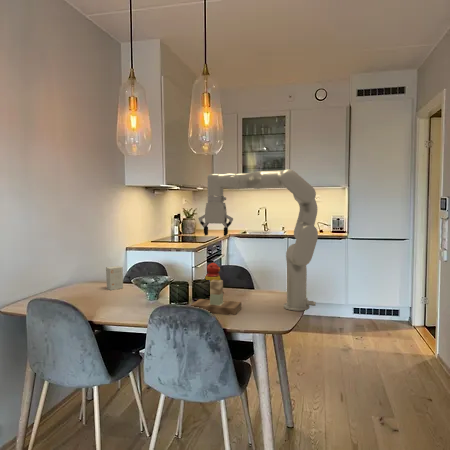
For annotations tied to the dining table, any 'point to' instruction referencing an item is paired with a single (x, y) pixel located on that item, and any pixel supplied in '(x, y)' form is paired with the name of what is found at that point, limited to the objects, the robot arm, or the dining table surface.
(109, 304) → the dining table surface
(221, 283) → the beech block
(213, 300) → the sage cube
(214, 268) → the stacking bear
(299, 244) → the robot arm
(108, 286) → the small box
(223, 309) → the base board
